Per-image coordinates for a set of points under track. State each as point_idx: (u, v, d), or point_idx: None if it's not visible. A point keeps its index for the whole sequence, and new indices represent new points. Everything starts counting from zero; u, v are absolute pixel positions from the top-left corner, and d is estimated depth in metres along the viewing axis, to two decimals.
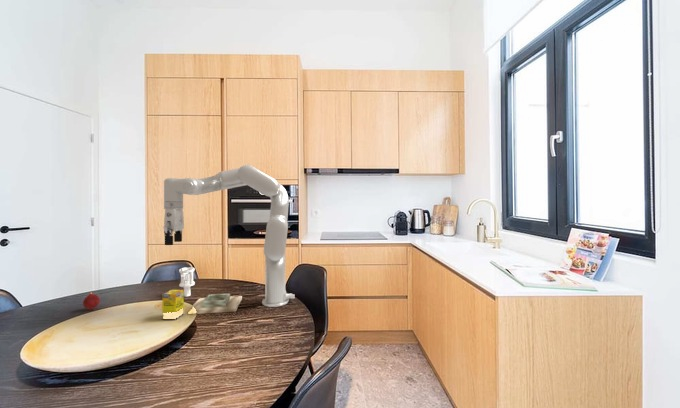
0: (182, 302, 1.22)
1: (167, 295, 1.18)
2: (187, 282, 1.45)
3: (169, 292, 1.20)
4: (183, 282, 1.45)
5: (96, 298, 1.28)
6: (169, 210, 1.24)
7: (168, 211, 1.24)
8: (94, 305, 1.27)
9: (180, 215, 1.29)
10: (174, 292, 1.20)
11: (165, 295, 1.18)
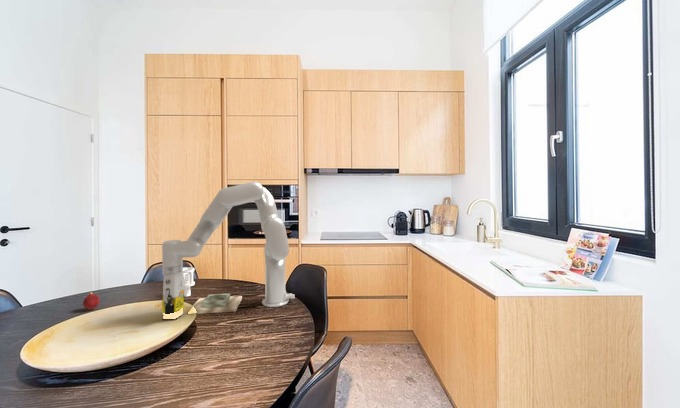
0: (182, 302, 1.22)
1: None
2: (187, 282, 1.45)
3: None
4: None
5: (96, 298, 1.28)
6: (168, 276, 1.16)
7: (167, 278, 1.16)
8: (94, 305, 1.27)
9: (180, 279, 1.21)
10: None
11: None
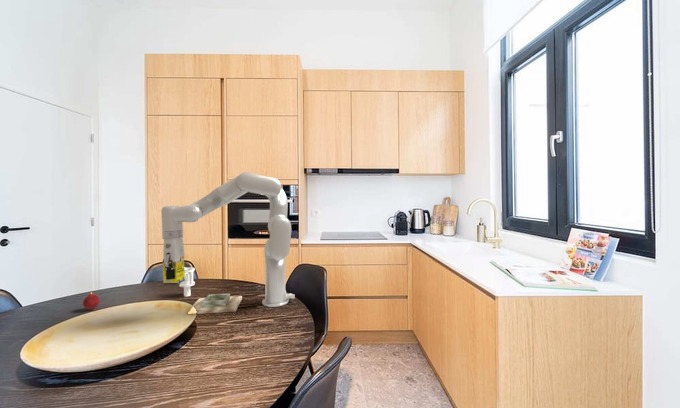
0: (183, 268, 1.22)
1: None
2: (187, 282, 1.45)
3: None
4: (183, 282, 1.45)
5: (96, 298, 1.28)
6: (168, 241, 1.16)
7: (167, 242, 1.16)
8: (94, 305, 1.27)
9: (180, 244, 1.21)
10: None
11: None
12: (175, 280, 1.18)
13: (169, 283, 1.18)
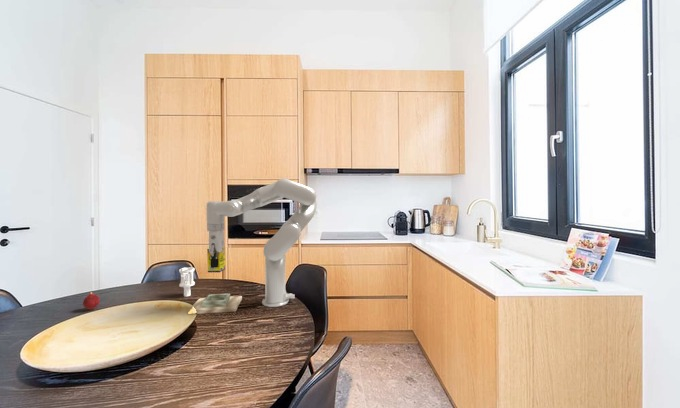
0: (224, 258, 1.34)
1: None
2: (187, 282, 1.45)
3: None
4: (183, 282, 1.45)
5: (96, 298, 1.28)
6: (213, 232, 1.28)
7: (212, 233, 1.28)
8: (94, 305, 1.27)
9: (222, 236, 1.33)
10: None
11: (210, 250, 1.30)
12: (218, 268, 1.30)
13: (213, 271, 1.30)
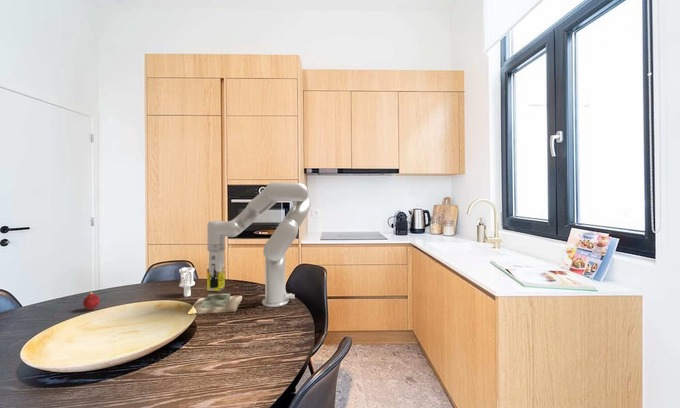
0: (223, 277, 1.35)
1: None
2: (187, 282, 1.45)
3: None
4: (183, 282, 1.45)
5: (96, 298, 1.28)
6: (213, 253, 1.28)
7: (212, 254, 1.28)
8: (94, 305, 1.27)
9: (222, 256, 1.33)
10: None
11: (210, 270, 1.30)
12: (218, 288, 1.30)
13: (212, 291, 1.30)
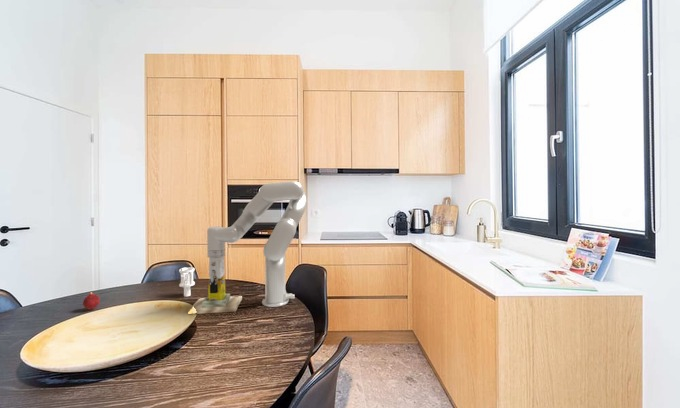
0: (224, 289, 1.35)
1: None
2: (187, 282, 1.45)
3: None
4: (183, 282, 1.45)
5: (96, 298, 1.28)
6: (213, 259, 1.28)
7: (212, 260, 1.28)
8: (94, 305, 1.27)
9: (222, 262, 1.33)
10: (218, 279, 1.33)
11: None
12: None
13: None
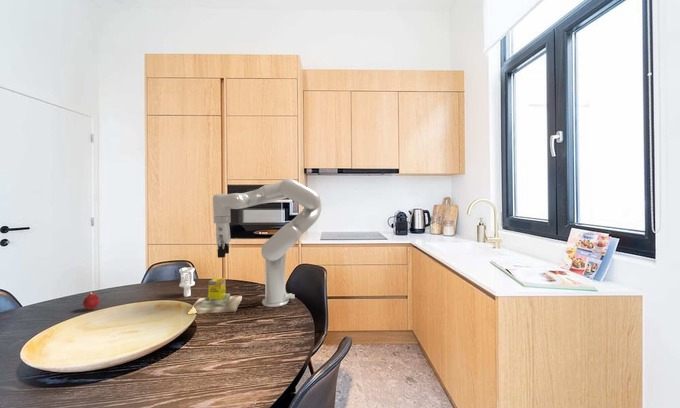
0: (224, 289, 1.35)
1: (213, 282, 1.30)
2: (187, 282, 1.45)
3: (214, 280, 1.32)
4: (183, 282, 1.45)
5: (96, 298, 1.28)
6: (220, 224, 1.31)
7: (219, 225, 1.31)
8: (94, 305, 1.27)
9: (228, 228, 1.36)
10: (218, 279, 1.33)
11: (211, 282, 1.30)
12: None
13: None
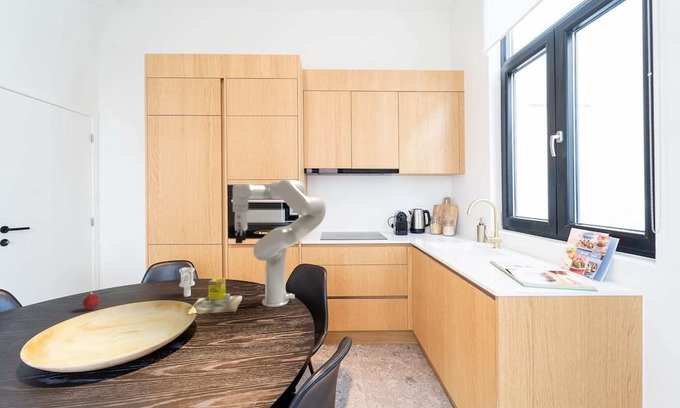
0: (224, 289, 1.35)
1: (213, 282, 1.30)
2: (187, 282, 1.45)
3: (214, 280, 1.32)
4: (183, 282, 1.45)
5: (96, 298, 1.28)
6: (239, 213, 1.41)
7: (238, 213, 1.41)
8: (94, 305, 1.27)
9: (246, 217, 1.46)
10: (218, 279, 1.33)
11: (211, 282, 1.30)
12: None
13: None
